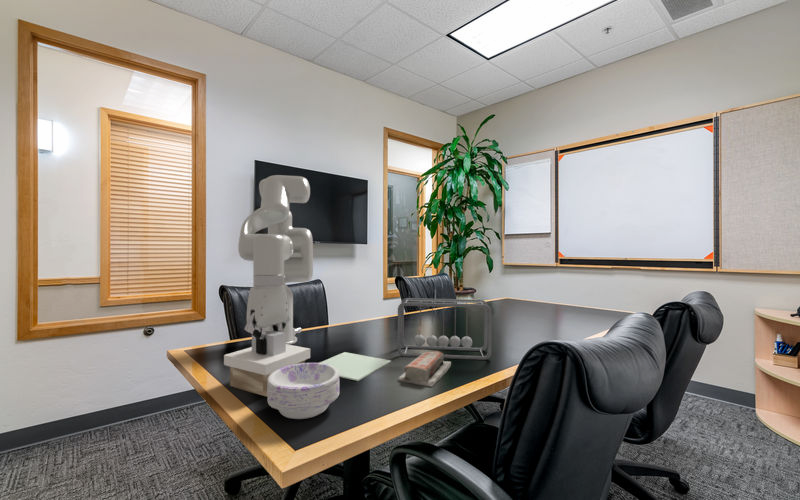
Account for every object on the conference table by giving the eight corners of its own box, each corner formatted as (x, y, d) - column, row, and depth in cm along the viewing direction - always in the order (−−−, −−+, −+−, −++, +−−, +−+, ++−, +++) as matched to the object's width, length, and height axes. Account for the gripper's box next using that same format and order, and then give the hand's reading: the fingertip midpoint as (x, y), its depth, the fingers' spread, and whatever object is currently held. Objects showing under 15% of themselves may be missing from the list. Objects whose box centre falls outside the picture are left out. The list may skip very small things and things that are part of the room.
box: (270, 370, 102) (270, 346, 101) (304, 378, 95) (304, 352, 95) (230, 386, 90) (230, 358, 90) (266, 396, 84) (266, 367, 84)
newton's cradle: (397, 356, 115) (397, 302, 115) (400, 347, 126) (400, 297, 125) (491, 360, 112) (491, 304, 112) (486, 351, 122) (487, 299, 122)
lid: (270, 349, 103) (271, 324, 103) (310, 357, 96) (310, 330, 96) (223, 364, 90) (224, 335, 90) (265, 375, 83) (265, 343, 82)
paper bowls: (276, 434, 67) (276, 393, 67) (260, 404, 80) (260, 369, 80) (350, 415, 75) (350, 377, 75) (325, 390, 88) (325, 358, 88)
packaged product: (433, 370, 90) (397, 364, 94) (433, 389, 90) (397, 383, 94) (451, 351, 107) (420, 347, 111) (451, 367, 107) (420, 362, 111)
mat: (344, 353, 118) (344, 352, 118) (391, 361, 110) (391, 360, 110) (306, 369, 102) (306, 368, 102) (357, 381, 94) (357, 379, 94)
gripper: (282, 278, 102) (282, 341, 102) (230, 283, 87) (230, 357, 87) (302, 279, 98) (302, 345, 98) (251, 285, 83) (251, 362, 84)
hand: (268, 350), depth 93 cm, fingers closed on lid, 4 cm apart
